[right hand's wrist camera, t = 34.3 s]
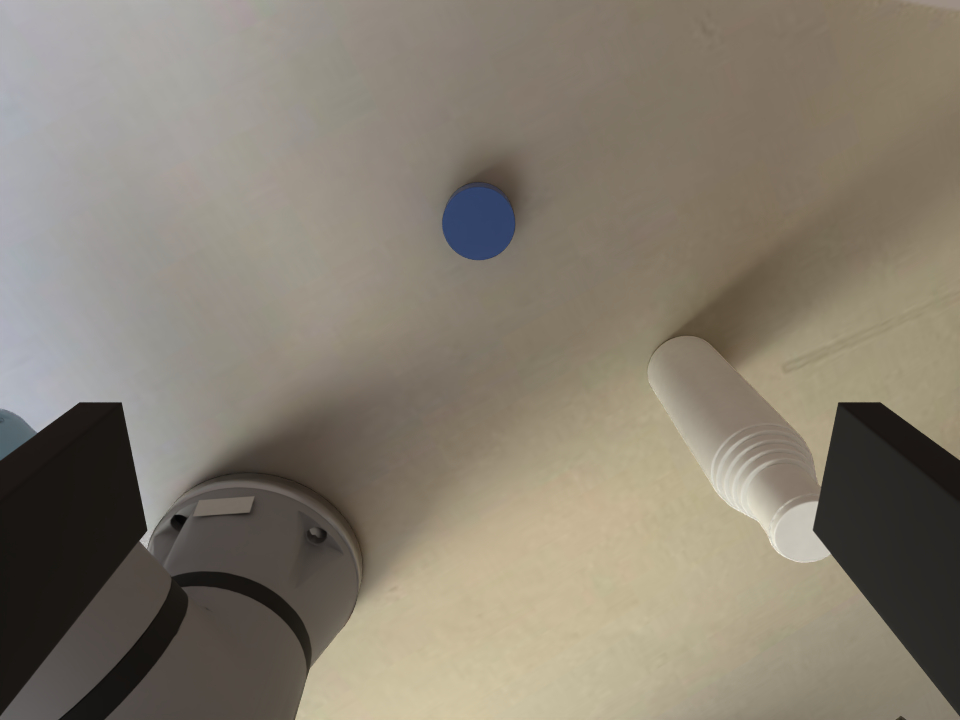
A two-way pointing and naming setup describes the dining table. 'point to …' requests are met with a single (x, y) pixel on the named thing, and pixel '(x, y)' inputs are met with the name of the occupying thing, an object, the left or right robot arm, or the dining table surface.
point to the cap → (478, 221)
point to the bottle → (740, 444)
